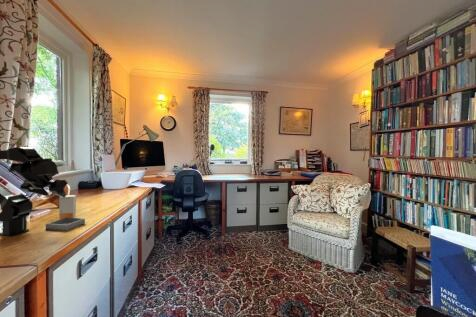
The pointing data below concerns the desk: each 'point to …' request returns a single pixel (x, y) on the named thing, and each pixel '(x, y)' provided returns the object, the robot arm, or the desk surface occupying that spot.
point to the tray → (65, 224)
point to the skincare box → (67, 206)
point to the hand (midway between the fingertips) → (56, 195)
